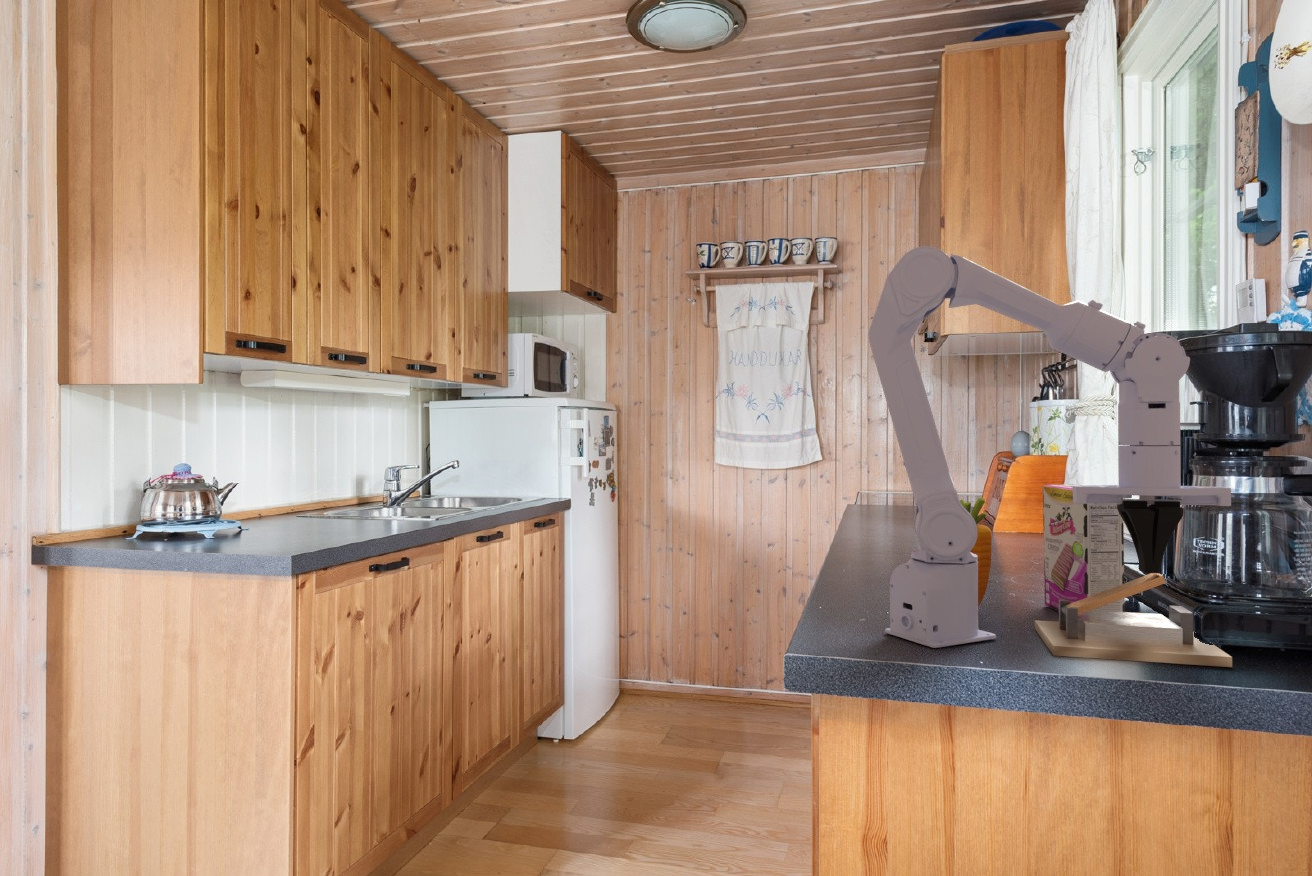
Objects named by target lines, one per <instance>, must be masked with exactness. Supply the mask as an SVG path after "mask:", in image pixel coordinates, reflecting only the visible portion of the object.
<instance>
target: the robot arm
mask: <svg viewBox="0 0 1312 876" xmlns="http://www.w3.org/2000/svg"><path fill="white" fill-rule="evenodd" d="M946 299H949V304H948V308H949V309H952V308H953V309H954V308H960V307H967V306H971V305H972V306H973V305H977V306H981V307H983V308H985V309H988V310H991V311H992V312H995V313H997V314H1000V315H1003V316H1004V317H1007V318H1010V319H1013V320H1015V321H1018V322H1020V323H1022V324H1025V325H1027V326H1030V327H1033V328H1035V329H1037V330H1039V331H1042V332H1043V333H1044V335H1045V336H1046V339H1047V342H1048V345H1049V347H1050V348H1051V349H1053V350H1055V351H1058V352H1059V353H1063V354H1064V355H1066V356H1068V357H1070V358H1073V359H1075V360H1077V361H1079V362H1081V363H1083V364H1086V365H1089V366H1091V367H1093V368H1095V369H1097V370H1100V371H1101V372H1104V373H1107V372H1110V375H1111V377H1112V378H1113V379H1114V381H1115V382H1116V383H1117V384H1118V404H1117V427H1118V428H1117V433H1118V434H1117V435H1118V436H1117V437H1118V440H1117V441H1118V442H1117V443H1118V446H1117V447H1118V448H1117V449H1118V452H1117V453H1118V457H1117V458H1118V459H1117V460H1118V461H1117V463H1118V464H1117V467H1118V468H1117V469H1118V473H1117V474H1118V476H1117V477H1118V484H1109V485H1107V484H1101V485H1096V484H1095V485H1091V484H1089V485H1086V484H1085V485H1082V484H1081V485H1080V484H1072V485H1073V502H1074V503H1076V504H1087V503H1096V504H1117V509H1118V512H1119V514H1120V516H1121V517H1122V519H1123V524H1124V526H1125V527H1126V529H1127V531H1128V533H1129V535H1130V537H1131V540H1132V542H1133V545H1134V546H1133V547H1134V548H1135V552H1136V557H1137V560H1138V561H1137V562H1138V566H1139V570H1140V571H1141V572H1143V573H1145V574H1151V573H1159V574H1160V573H1161V569H1162V562H1163V559H1164V557H1165V556H1164V555H1165V552H1166V550H1167V547H1168V545H1169V542H1170V540H1171V537H1172V536H1173V533H1174V531H1175V530H1176V529H1177V528H1176V527H1177V526H1178V525H1179V523H1180V522H1181V520H1183V519H1182V518H1183V517H1184V514H1185V511H1184V510H1185V509H1184V508H1183V507H1181V505H1182V506H1219V507H1231V506H1232V488H1231V487H1228V486H1227V487H1226V486H1204V485H1203V486H1201V485H1200V486H1198V485H1182V483H1181V482H1182V479H1181V478H1182V477H1181V476H1182V475H1181V474H1182V473H1181V468H1182V467H1181V466H1182V465H1181V464H1182V463H1181V401H1180V381H1181V379H1182V378H1183V377H1184V376H1185V374H1186V373H1187V371H1188V370H1189V367H1190V364H1191V362H1190V361H1191V357H1190V356H1187V355H1186V350H1185V349H1184V346H1183V345H1182V346H1181V342H1180V341H1179V340H1178V339H1176V337H1174V336H1172V335H1170V334H1167V333H1164V332H1149V333H1145V328H1146V324H1144V323H1142V322H1140V321H1135V322H1133V323H1131V322H1129V321H1127V320H1124V319H1122V318H1120V317H1119V316H1115V315H1113V314H1111V313H1108V312H1106V311H1104V310H1102V308H1103V306H1104V305H1103V303H1101V302H1099V301H1096V300H1095V299H1092V300H1090V301H1088V302H1087V303H1086V302H1084V301H1081V300H1076V301H1072V302H1068V303H1065V304H1058V303H1056V302H1054V301H1052V300H1051V299H1049V298H1047V297H1044V296H1043V295H1040V294H1038V293H1036V292H1035V291H1032V290H1031V289H1029V288H1026V287H1024V286H1022V285H1020V284H1018V283H1016V282H1014V281H1012V280H1010V279H1009V278H1006V277H1004V276H1002V275H1001V274H1000V275H999V274H998V273H995V272H994V271H992V270H990V269H988V268H985V267H984V266H982V265H979V264H977V263H976V262H974V261H972V260H970V259H968V258H966V257H963V256H961V255H957V254H953V253H952V254H950V256H949V255H948V254H947V253H946V252H945V251H943V250H942V249H940V248H938V247H934V246H930V245H921V246H918V247H915V248H913V249H910V250H909V251H906V253H905V254H904V255H902V256H901V258H900V259H899V260H898V261H897V263H896V264H895V265H894V267H893V268H892V269H891V270H890V272H889V273H888V275H887V276H886V279H885V282H884V285H883V288H882V291H881V294H880V298H879V300H878V302H877V306H876V310H875V313H874V315H873V318H872V321H871V323H870V326H869V329H868V334H867V335H868V343H869V346H870V349H871V352H872V357H873V360H874V363H875V367H876V370H877V373H878V378H879V380H880V384H881V388H882V391H883V395H884V397H885V401H886V405H887V407H888V411H889V412H888V413H889V415H890V418H891V421H892V426H893V429H894V432H895V436H896V438H897V442H898V446H899V449H900V452H901V456H902V459H903V464H904V466H905V470H906V474H907V477H908V480H909V481H908V482H909V484H910V488H911V491H912V496H913V499H914V502H915V512H914V517H913V528H914V531H915V534H916V538H917V540H918V542H919V544H918V545H917V546H916V547H915V549H912V550H911V551H910V552H911V553H910V556H911V557H910V559H909V560H908V561H907V562H904V563H901V564H899V565H896V567H895V568H894V569H893V571H892V573H891V575H890V578H889V627H887V628H885V629H884V631H885V634H887V635H888V634H889V635H893V636H894V637H898V638H901V639H905V640H907V641H910V642H913V643H917V644H919V645H920V644H921V645H923V646H925V647H930V648H933V649H934V648H935V649H937V648H943V647H944V648H945V647H951V646H957V645H963V644H968V643H969V644H970V643H975V642H983V641H989V640H994V639H997V634H996V633H992V632H988V631H986V630H981V629H979V607H978V561H977V560H978V556H977V555H976V554H973V553H971V552H970V551H971V550H972V548H973V547H974V545H975V543H976V540H977V533H978V532H977V526H976V522H975V520H974V518H973V517H972V516H971V512H970V513H969V512H968V511H967V510H966V509H965V508H964V507H963V506H962V504H961V502H960V500H961V499H960V498H959V495H958V491H957V487H956V486H955V483H954V481H953V478H952V475H951V473H950V470H949V465H948V462H947V459H946V456H945V453H944V449H943V446H942V442H941V439H940V435H939V432H938V429H937V425H936V421H935V418H934V415H933V412H932V408H931V405H930V402H929V398H928V394H927V391H926V388H925V385H924V380H923V378H922V374H921V371H920V367H919V364H918V360H917V357H916V355H915V354H916V352H915V351H914V347H913V343H912V340H913V339H914V337H915V335H916V333H917V332H918V330H919V329H920V327H921V325H922V324H923V321H924V320H926V318H928V317H929V316H930V315H932V314H933V313H934V312H935V311H936V310H937V309H938V308H939V307H941V306H942V304H944V302H945V300H946ZM1133 496H1137V497H1138V496H1143V497H1146V496H1148V497H1155V496H1156V497H1166V498H1168V499H1154V498H1151V499H1150V498H1148V499H1147V498H1143V499H1142V498H1139V499H1138V498H1133ZM1119 498H1123V499H1119Z"/></svg>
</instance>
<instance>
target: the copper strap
mask: <svg viewBox="0 0 1312 876" xmlns="http://www.w3.org/2000/svg"><path fill="white" fill-rule="evenodd" d="M1166 583H1167V581H1166V578H1165V577H1164V575H1163V574H1160V573H1147V574H1146V575H1144V576H1141V577H1138V578H1135V579H1133V580H1130V581H1127V582H1124V584H1122V585H1119V586H1116V587H1113V588H1111V589H1108V590H1105V591H1103V592H1100V593H1097V594H1095V595H1092V596H1089V597H1087V598H1084V599H1081V600H1079V601H1076V602H1073V603H1071V604H1068V605H1064V606H1063V607H1062V608H1061V610H1062V612H1063V613H1064V614H1065V615H1066V607H1076V608H1077V609H1078V615H1080V614H1083V613H1086V612H1088V611H1091V610H1094V609H1096V608H1099V607H1102V606H1105V605H1107V604H1110V603H1113V602H1115V601H1118V600H1121V599H1126V598H1128V597H1131V596H1134V595H1137V594H1139V593H1142V592H1145V591H1147V590H1150V589H1153V588H1155V587H1158V586H1161V585H1165V584H1166Z"/></svg>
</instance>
